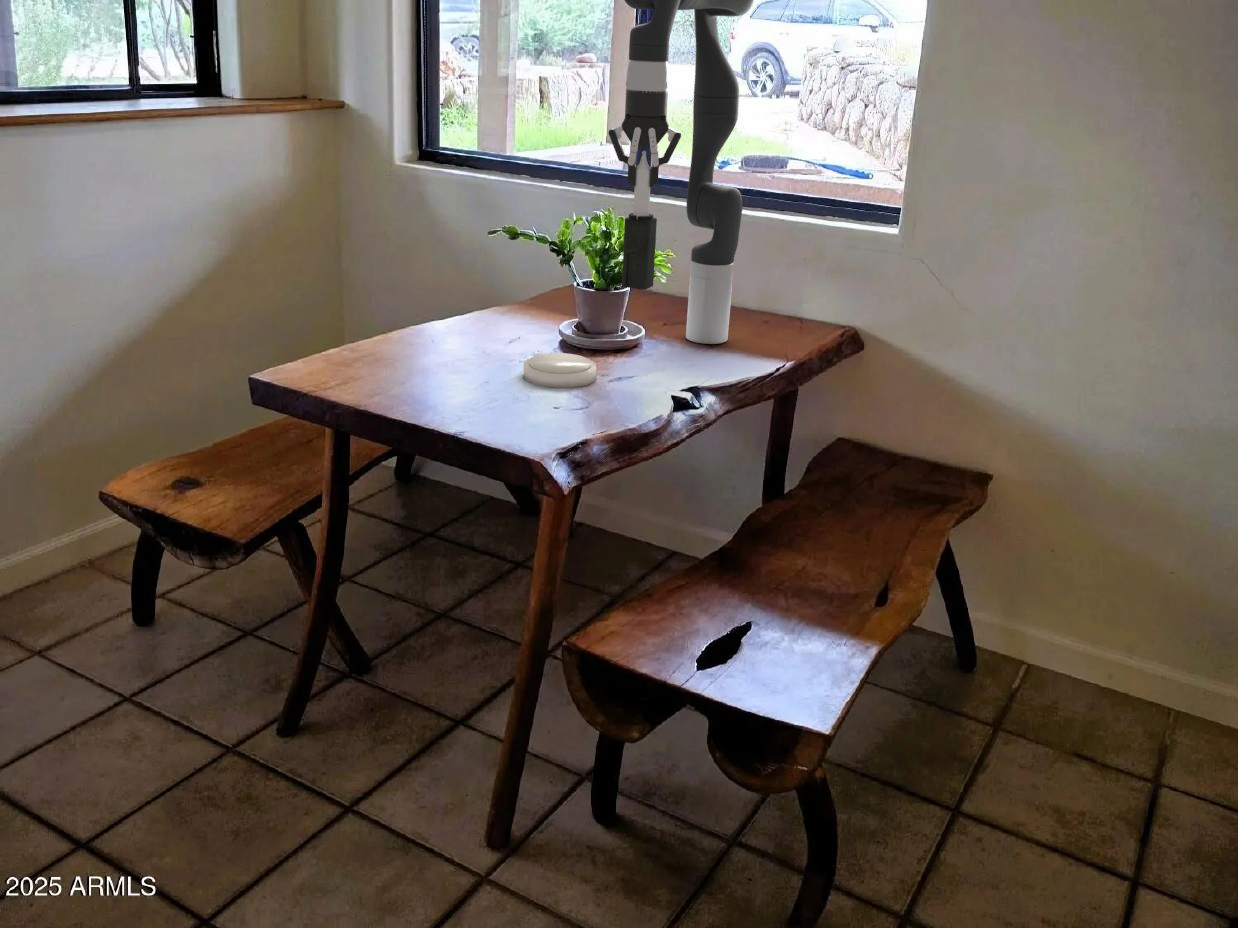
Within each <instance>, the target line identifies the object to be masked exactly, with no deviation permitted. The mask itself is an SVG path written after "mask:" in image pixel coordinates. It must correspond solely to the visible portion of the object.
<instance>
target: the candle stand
mask: <svg viewBox="0 0 1238 928" xmlns="http://www.w3.org/2000/svg"><path fill="white" fill-rule="evenodd" d="M523 379H524V380H525V381H527V382H529V383H531V384H533V385H535V386H536V385H537V386H540V387H546V388H556V389H570V388H580V387H585V386H587V385H590V384H593V383H594V382H595V381H596V379H597V364H596V362H594V361H593V360H591V359H589V358H587V357H585V356H582V355H579V354H573V353H565V352H550V353H541V354H537V355H534V356H532V357H530V358H528V359H526V360H524V361H523Z"/></svg>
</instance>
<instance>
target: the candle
mask: <svg viewBox="0 0 1238 928" xmlns="http://www.w3.org/2000/svg"><path fill="white" fill-rule="evenodd" d="M650 178H651V166H650V165H649V163H648V159H647V151H646V150H642V151H641V157H640V161H639V164H638V165H636V171H635V187H634V191H633V192H634V193H633V209H632V210H633V211H632V212H630V213H628V217H625V218H624V232H623V233H624V234H623V254H622V255H623V256H622V257H623V258H622V275H621V276H622V277H621V279H622V280H621V287H622V288H630V289H634V290H635V289H636V290H640V291H641V290H648V289H650V288H653V287H654V278H655V275H654V274H655V262H656V261H655V258H656V241H657V222H658V221H657V220H658V219H657V218H656V217H654V214H653V213H650V199H651V187H650Z"/></svg>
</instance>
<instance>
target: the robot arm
mask: <svg viewBox="0 0 1238 928" xmlns="http://www.w3.org/2000/svg"><path fill="white" fill-rule="evenodd" d="M624 2H625V3H626V5H627V6H629V7H630V8H632V9H635V10H642V11H643V10H646V11H648V10H649V11H654V12H653V15H652V17H651V19H650V21H648V22H647V23H642V24H637V25H634V26H632V28H631V30H630V32H629V42H628V48H629V49H628V64H627V70H626V81H625V103H624V105H625V106H624V107H625V108H624V119H623V121H622V123H621V125H619V126H617V127H613V128H612V127H611V128H610V129H609V130H608V135H609V138H610V141H611V144H612V147H613V148H614V151H615V154H616V157H617V159H618V161H619V162H622V163H625V164H626V165H627V183H628V184H630V187H633V188H635V171H636V168H637V165H636V158H637V153H638V148H639V147H647V148H650V149H649V150H650V156H651V163H652V164H651V166H650V169H651V178H650V188H655V185H658V182H659V174H660V173H659V172H660V171H659V170H660V166H663V165H665V164H668V163H669V161H670V160H671V158H672V156H673V153H674V152H675V149H676V148H677V146H678V143H679V142H680V140H681V138H682V133H681V132H680V131H679V130H678V131H676V130H674V129H673V128H671V127H669V123H668V119H667V118H668V117H667V114H668V97H669V87H670V86H669V85H670V84H669V83H670V81H669V78H670V77H669V56H670V55H669V54H670V53H669V52H670V38H671V33H672V30H673V27H674V23H675V19H676V15H677V13H678V11H691V10H693V13H694V32H695V33H694V34H695V37H694V38H695V63H694V64H695V65H694V66H695V69H694V88H693V103H692V104H693V107H692V112H693V113H692V117H693V120H692V122H693V123H692V125H693V126H692V145H691V146H692V147H691V158H690V169H689V177H688V183H687V193H686V217H687V219H688V221H689V223H690V224H691V225H692V226H695V227H698V228H703V229H710V230H713V232H712V238H711V240H709V241H708V242H704V243H700V244H696V245H694V246H693V247H692V250H691V255H690V270H689V283H688V285H689V287H688V299H687V300H688V302H687V316H686V331H685V339H686V340H688V341H691V342H693V343H697V344H706V345H707V344H708V345H710V344H711V345H715V344H718V345H719V344H723V343H725V342H727V341H728V337H729V328H730V314H731V304H732V303H731V301H732V292H733V291H732V290H733V280H734V278H733V276H734V264H735V263H734V262H735V255H736V252H737V249H738V245H739V237H740V230H741V229H740V228H741V221H742V215H743V198H742V194H741V191H740V190H739V189H738V188H736V187H733V186H729V185H721V184H716V183H714V170H715V164H716V161H717V158H718V156H719V154H720V152H721V150H722V149H723V147H724V145H725V144H726V142H727V141H728V139H729V137H730V136H731V134H732V132H733V131H734V129H735V127H736V124H737V122H738V118H739V104H740V85H739V82H738V78H737V76H736V74H735V71H734V70H733V68H732V65H731V64H730V62H729V60H728V58H727V56H726V54H725V51H724V49H723V47H722V45H721V42H720V41H721V40H720V37H719V29H718V17H729V18H730V17H734V18H735V17H740V16H743V15H745V14H747V13H748V11H750V9H751V8H752V6H753V3H754V0H624ZM622 132H623V133H624V134H625V136H626V137H627V138H628V140H629V142H630V143H631V145H630V149H629V154H626V153H625V151H624V149H623V146H622V144H621V138H622V137H623V135H622ZM666 134H668V136H667V140H668V142H669V144H668V146H667V148H666V149H665V152H664V154H663V156H660V155H659V147H658V144H659V143H660V142H661V140H662V139H663V138H664V137H665V135H666ZM659 156H660V157H659Z"/></svg>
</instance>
